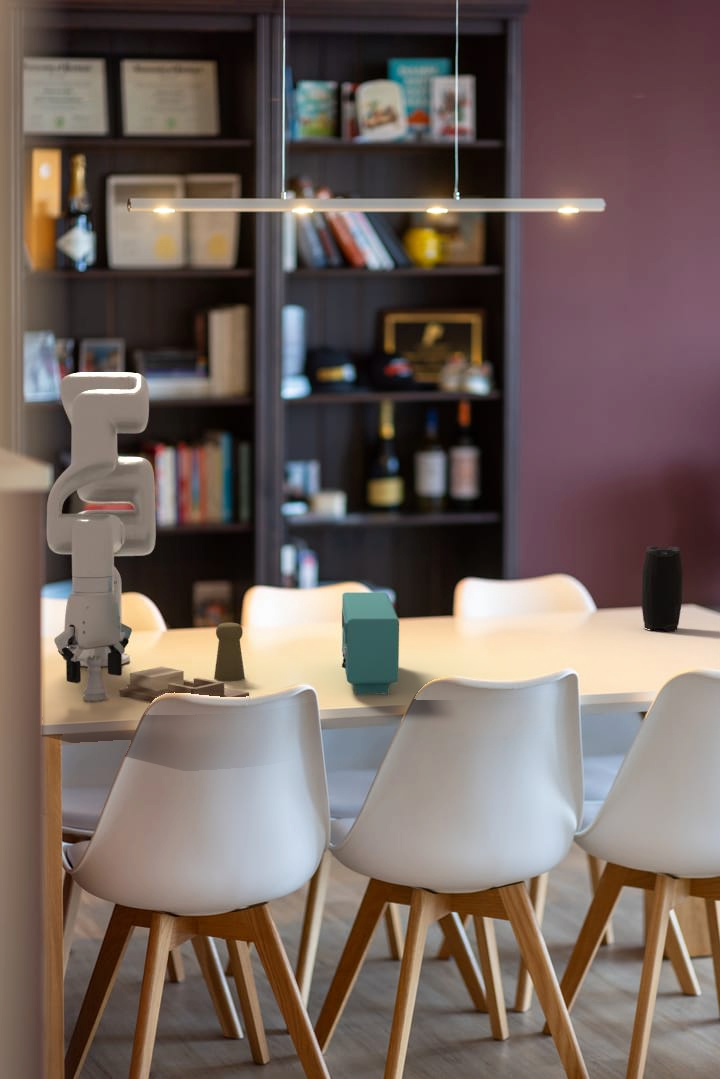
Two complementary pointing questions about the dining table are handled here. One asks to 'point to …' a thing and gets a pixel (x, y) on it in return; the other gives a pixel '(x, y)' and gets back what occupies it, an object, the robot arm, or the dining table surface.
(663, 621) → the portable speaker
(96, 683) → the rook chess piece
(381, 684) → the radio
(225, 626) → the cork
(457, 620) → the dining table surface
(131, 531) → the robot arm
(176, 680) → the cream rectangular block
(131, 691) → the board
